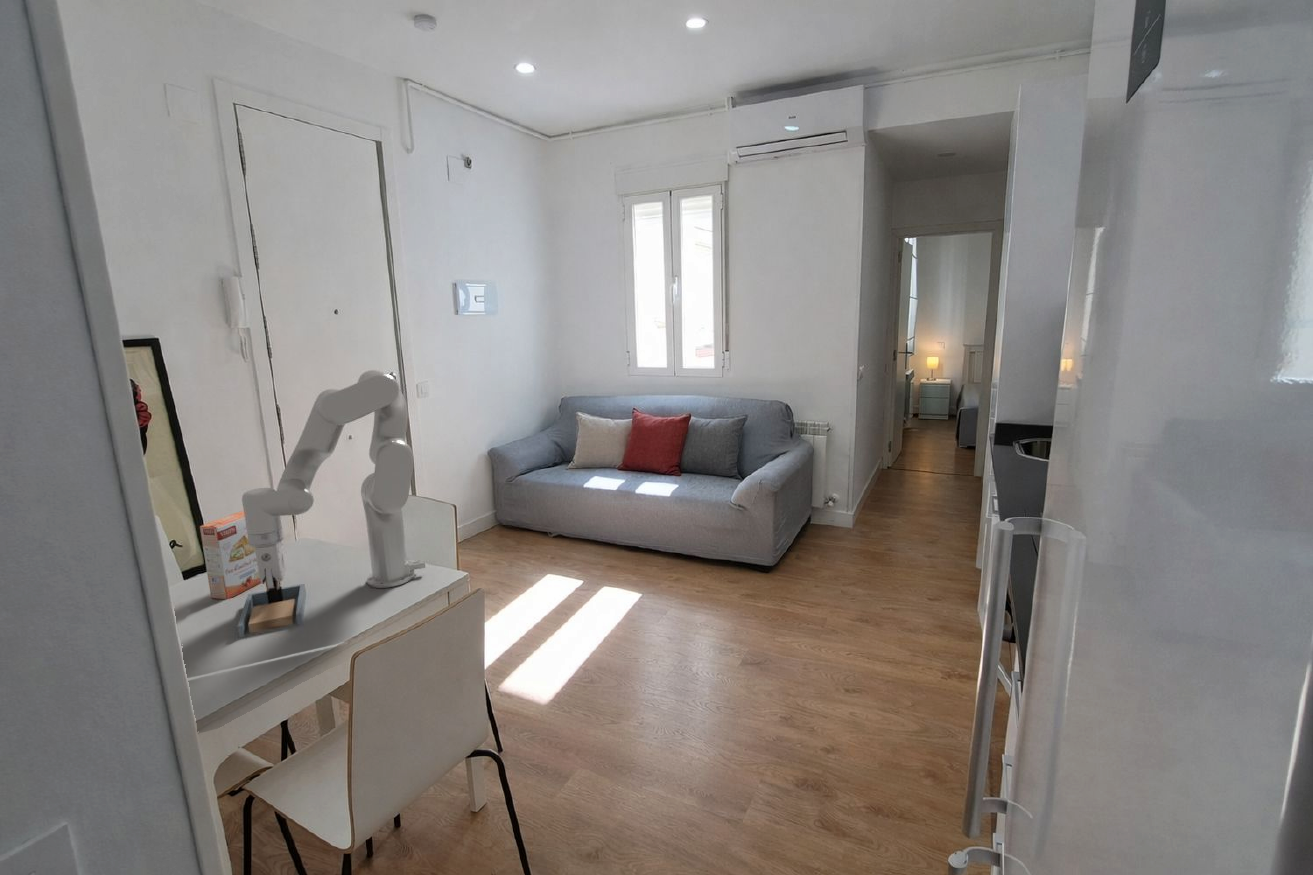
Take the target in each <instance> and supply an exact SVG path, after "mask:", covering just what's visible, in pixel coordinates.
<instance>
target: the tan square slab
mask: <svg viewBox="0 0 1313 875" xmlns="http://www.w3.org/2000/svg"><path fill="white" fill-rule="evenodd" d="M295 610H296V605H295V599H291V600H286V601H281V602H276V603H271V604H265V605H260V606H255V607H253V610H252V614H251V617H250V620H249V624H248V625H249V631H250V634H252V633H256V632H261V631H266V630H271V629H275V628H280V627H285V626H290V625H293V623H294V617H295Z"/></svg>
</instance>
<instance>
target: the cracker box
mask: <svg viewBox="0 0 1313 875" xmlns="http://www.w3.org/2000/svg"><path fill="white" fill-rule="evenodd" d="M199 530H200V537H201V542H202V549H203V555H204V561H205V567H206V568H205V569H206V574H207V581H208V585H209V587H208V588H209V592H210V597H211V599H216V600H229V599H232V598H235V597H236V596H237V595H240V594H241V593H244V592H245V591H247V590H250V589H251V588H253V586H254V587H256V586H257V585H259V584H262V583H261V581H260V577H259V572H258V566H257V559H256V552H255V547H251V546H249V540H248V534H247V528H246V521H245V515H244V510H241V511H238V512H235V513H232V514H230V515H228V516H224V517H222V518H219V519H216V520H214V521H211V522H208V523H206V524H202V525H200V526H199Z"/></svg>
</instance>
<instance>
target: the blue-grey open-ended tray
mask: <svg viewBox="0 0 1313 875" xmlns="http://www.w3.org/2000/svg"><path fill="white" fill-rule="evenodd" d="M306 591H307V590H306V585H305V583H302V584H301V583H300V584H295V585H290V586H284V587H282V593H283V601H286V600H291V599H295V605H296V610H295V617H294V623H293V625H290V626H285V627H280V628H275V629H271V630H266V631H261V632H256V633H252V634H250V631H249V625H248V624H249V620H250V617H251V614H252V610H253V607H255V606H260V605H265V604H268V597H267V590H263V591H257V592H253V593H248V594H247V595H246V599H245V602H244V605H243V608H242V611H241V613H240V617H239V619H238V622H237V627H236V628H237V631H238V637H239V638H238V639H241V638H246V637H250V636H256V635H260V634H266V633H269V632H273V631H279V630H286V629H289V628H294V627H298V626H303V624H304V623H303V622H304V615H305V607H306V606H305V605H306V597H307V592H306Z"/></svg>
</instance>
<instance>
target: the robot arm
mask: <svg viewBox="0 0 1313 875" xmlns="http://www.w3.org/2000/svg"><path fill="white" fill-rule="evenodd" d="M372 413H373V414H374V418H373V428H372V433H371V434H372V435H371V441H370V447H369V451H368V452H369V453H368V454H369V458H370V460H371V462H372V463H373V464H374V465H375V466H374V471H373V472H372V473H370V474H368V475H367V476H366V477H365V478H364V480H363V482H361V483H362V484H361V487H360V488H361V489H360V494H361V501H362V504H363V505H362V506H363V510H364V515H365V522H366V531H367V540H368V541H367V542H368V548H369V557H370V564H371V574H369V575H368V577H367V578H366V582H367V585H368V586H370V587H372V588H375V589H376V588H377V589H379V588H380V589H382V588H383V589H384V588H393V587H397V586H400V585H403V584H407V583H409V581H411V580H412V579H413V578H414V577H415V570H422V569H425V568H426V563H425V561H420V560H413V561H412V560H409V558H408V555H407V545H406V544H407V543H406V535H405V527H404V526H405V524H404V515H403V510H402V509H403V508H404V507H405V505H407V502H408V499H409V495H410V488H411V482H412V476H413V470H414V460H415V459H414V453H413V450H412V447H410V445H409V444H408V443H407V442H406V439H407V438H406V436H407V429H408V418H409V416H408V415H409V414H408V413H409V412H408V405H407V401H406V399H405V396H404V394H403V392H402V390H401V389H400V385H399V382H398V381H397V379H396V378H395V377H394V376H392V375H390V374H388V373H387V372H384V371H380V370H376V369H370V370H367V371H365V372H363V373H361V375H360V376H359V377H358V379H357V382H356V383H354V384H351V385H349V386H347V387H344V388H342V389H334V388H329V389H325V390H323V391H322V392H320V393H319V394H318V395H317V397H316V399H315V401H314V404H313V405H312V408H311V410H310V414H309V415H308V418H307V420H306V423H305V425H304V428H303V430H302V431H301V432H302V433H301V435H300V437H299V439H298V441H297V443H296V445H295V447H294V449H293V451H292V453H291V455H290V457H289V459H288V461H287V463H286V465H285V468H284V469H283V472H282V474H281V477H280V479H279V482H278V485H277V487H276V490H275V489H273V488H272V487H259V488H253V489H250V490H247V491H245V492H244V493H243V494H242V497H241V502H242V507H243V508H242V510H243V511H244V515H245V521H246V528H247V534H248V540H249V546H251V547H255V552H256V559H257V566H258V572H259V577H260V581H261V583H260V584H263V585H265V587H266V588H265V589H266V591H267V597H268V604H271V603H276V602H281V601H283V593H282V588H283V587H282V586H281V585H282V584H281V582H282V581H283V580H284V577H285V575H286V570H287V569H286V562H285V557H284V553H283V548H282V544H281V542H283V541H284V539H285V538H284V531H283V530H284V529H283V525H282V524H283V523H282V519H281V518H282V517H281V516H298V515H303V514H304V513H305V514H306V513H307V512H308V511H309V510H310V509H312V507H313V505H314V501H315V500H314V494H313V493H312V491H311V490H310V489H311V486H312V483H313V481H314V478H315V477H316V473H317V472H318V470H319V468H320V467H321V465H322V464H323V463H324V461H325V460H328V458H330V457H331V455H333V453H334V452H335V449H336V447H337V444H338V442H339V439H340V437H341V435H342V432H343V430H344V427H345V425H346V424H349V423H351V422H355V421H357V420H358V419H362V418H363V417H365V416H368V415H369V414H372Z"/></svg>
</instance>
